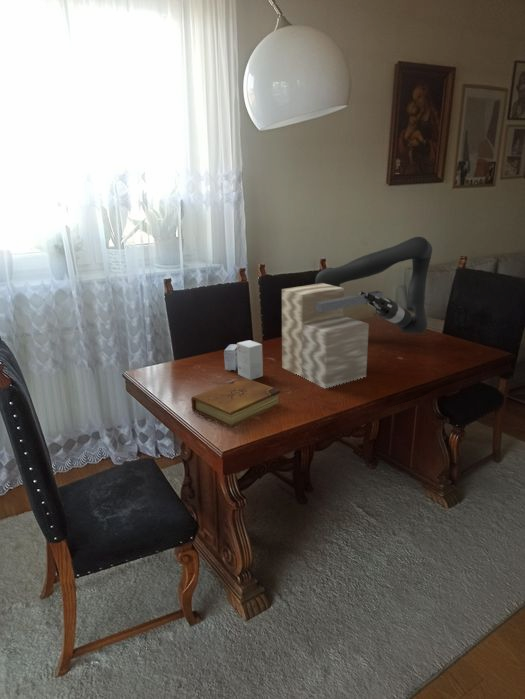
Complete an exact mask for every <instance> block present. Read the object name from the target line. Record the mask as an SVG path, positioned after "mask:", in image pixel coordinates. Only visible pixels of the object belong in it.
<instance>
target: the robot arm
mask: <svg viewBox="0 0 525 699" xmlns="http://www.w3.org/2000/svg"><path fill="white" fill-rule="evenodd" d="M432 253H433V247H432V244H431V242H429V241H428V239H426V238H425V237H423V236H414V237H411V238H409V239H407V240H405V241H403V242H400V243H399V244H396V245H394V246H390V247H387V248H384V249H381V250H377V251H375V252H370V253H368V254H365V255H362V256H360V257H357V258H355V259H354V260H353V259H352V261H349V262H347V263H345V264H343V265H340V266H337V267H326V268H324V269H322V270H320V271H319V272H318V273H317V274H316V276H315V284H319V283H324V284H328V285H333V286H337V287H340V285H342V284H345V283H346V282H351V281H355V280H360V279H364V278H368V277H372V276H374V275H378V274H380V273H382V272H384V271H386V270H388V269H389V268H391V267H392V266H394V265H396V264H398V263H401V262H405V261H408V260H411V261H412V262H411V263H412V272H411V277H410V281H409V284H408V289H407V296H406V297H407V298H406V309H405V308H404V307H402V306H401V305H400V304H399V303H397V302H395V301H393V300H392V299H390V298H389V297H384V298H383V297H382V298H379V297H377V296H373V295H372V294H370V293H368V292H366V293H367V294H366V297H365V298H366V299H368V300H369V301H371V302H369V303H364V304H365V305H369V306H371V307H372V308H374V309H375V312H376V315H378V316H379V317H381V318H383V319H384V320H386V321H388V322H389V323H393V324H394V325H396V326H397V327H398V328H399V330H400V331H402V332H403V333H405V334H424V333H425V332H426V330H427V328H428V319H427V314H426V310H425V301H426V300H425V299H426V287H427V286H426V285H427V278H428V272H429V266H430V262H431V258H432V255H433V254H432ZM363 293H365V292H364V291H359V293H358V294H363ZM410 311H412V312H414V315H415V316H412V314H411V312H410Z"/></svg>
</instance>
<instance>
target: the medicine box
mask: <svg viewBox="0 0 525 699" xmlns="http://www.w3.org/2000/svg"><path fill="white" fill-rule="evenodd" d="M223 351H224V352H223V356H224V369H225V371H231V370H234V372H236V370H238V358H237V343H236V344H235V343H234V344H233V343H232V344H228V345H227V347H226V348H225V349H224V350H223Z"/></svg>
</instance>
